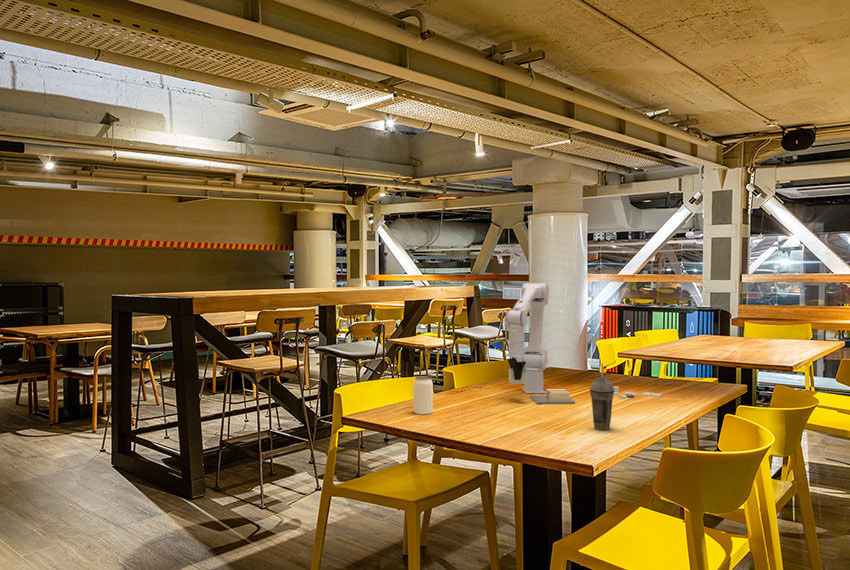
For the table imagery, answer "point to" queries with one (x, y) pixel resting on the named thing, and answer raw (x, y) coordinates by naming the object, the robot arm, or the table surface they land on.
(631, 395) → the architectural model
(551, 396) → the birch plinth
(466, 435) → the table surface
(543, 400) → the gray board
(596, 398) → the beverage cup
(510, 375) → the sage block
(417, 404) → the can
